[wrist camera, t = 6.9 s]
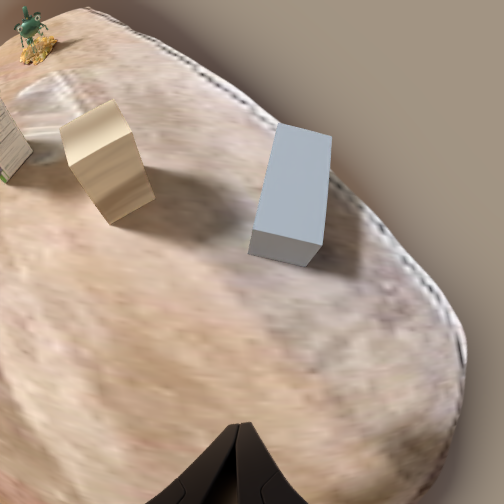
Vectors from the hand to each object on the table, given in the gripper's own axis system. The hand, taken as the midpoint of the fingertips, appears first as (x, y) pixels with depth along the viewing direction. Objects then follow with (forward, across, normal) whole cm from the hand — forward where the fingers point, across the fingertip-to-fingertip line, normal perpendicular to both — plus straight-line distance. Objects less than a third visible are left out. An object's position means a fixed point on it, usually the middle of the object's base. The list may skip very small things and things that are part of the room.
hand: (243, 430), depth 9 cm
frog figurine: (+40, -36, +53) cm, 75 cm away
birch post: (+19, -10, +11) cm, 24 cm away
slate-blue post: (+14, +4, +3) cm, 15 cm away
